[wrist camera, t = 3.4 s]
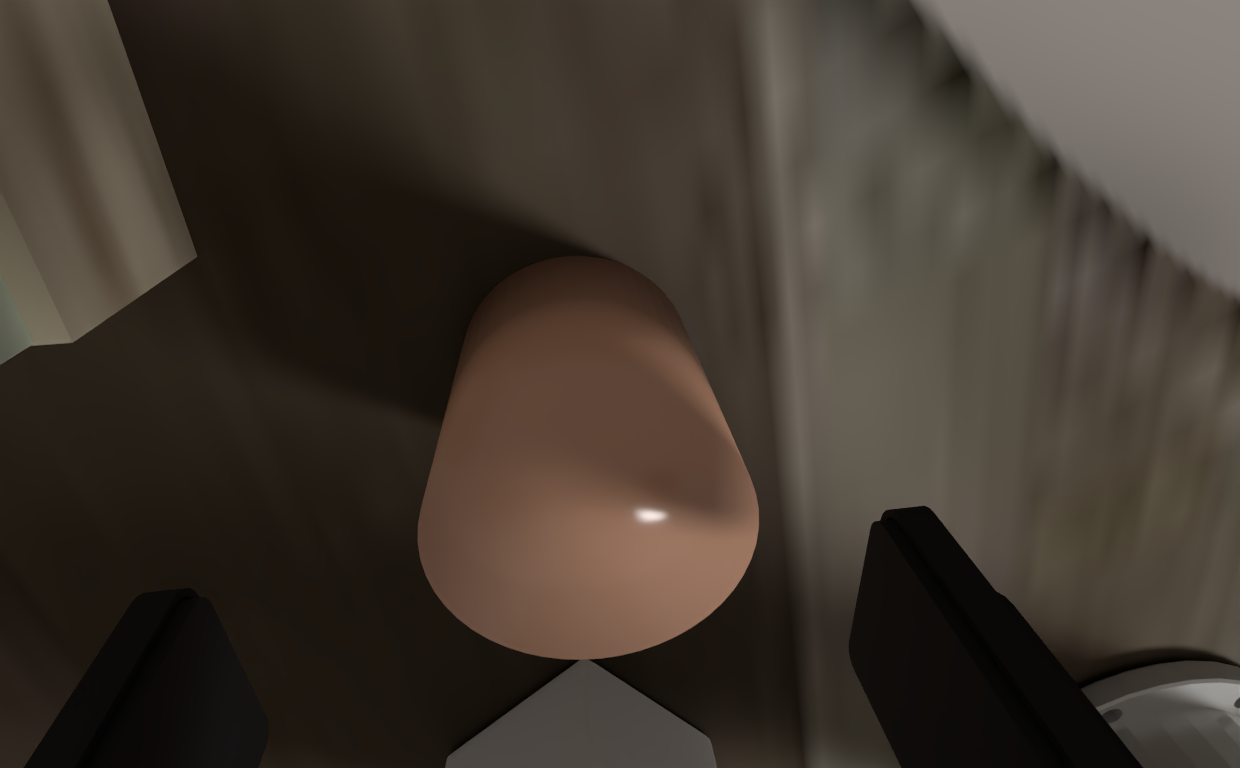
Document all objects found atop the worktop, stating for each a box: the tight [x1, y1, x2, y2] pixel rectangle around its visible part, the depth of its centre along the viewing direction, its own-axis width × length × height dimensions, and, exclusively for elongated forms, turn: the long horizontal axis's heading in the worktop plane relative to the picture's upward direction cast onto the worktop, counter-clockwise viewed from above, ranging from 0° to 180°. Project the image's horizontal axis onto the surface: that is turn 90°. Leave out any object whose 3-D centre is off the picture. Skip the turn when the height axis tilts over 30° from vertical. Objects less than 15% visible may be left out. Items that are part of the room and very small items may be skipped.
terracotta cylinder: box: [418, 256, 759, 660], centre depth 15 cm, size 6×6×7 cm
